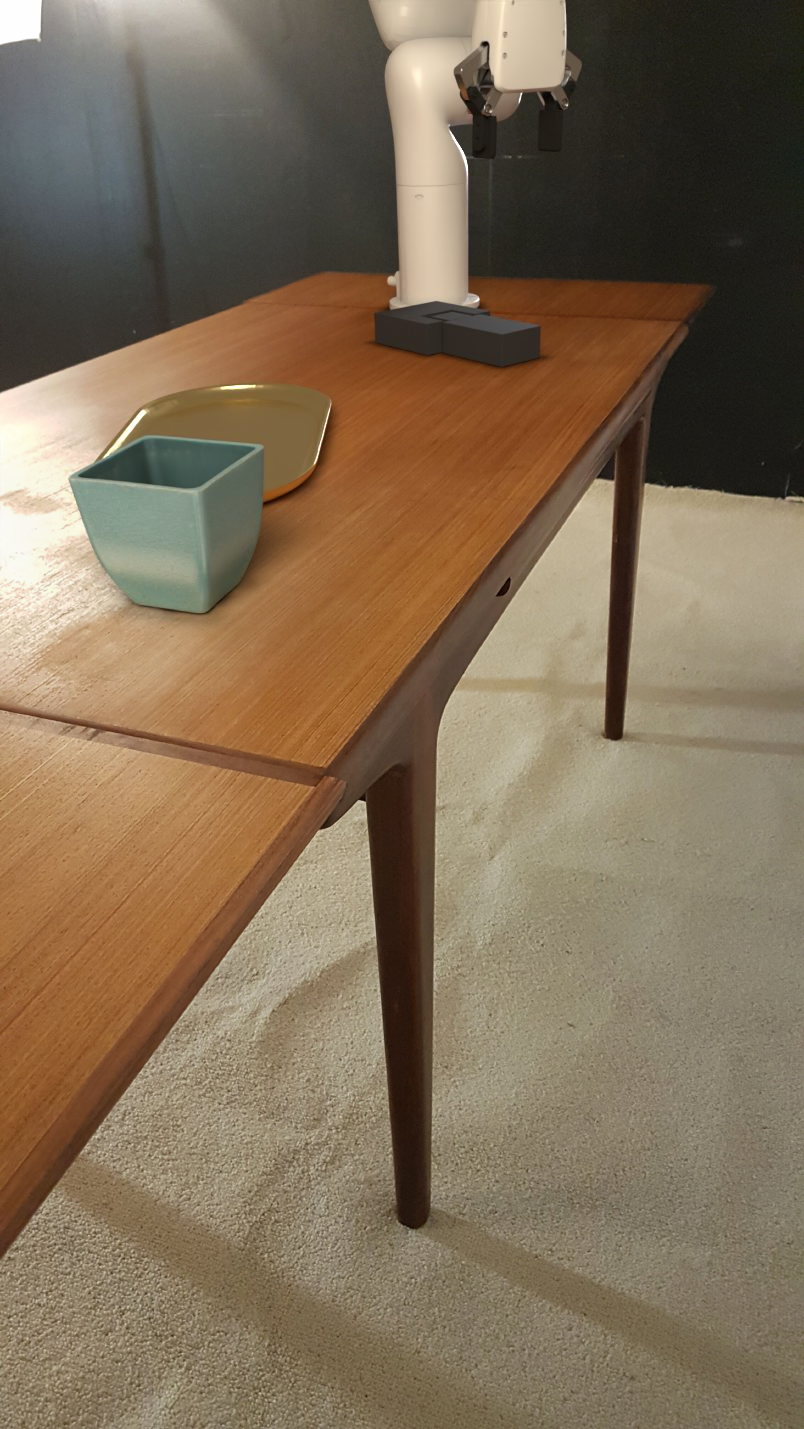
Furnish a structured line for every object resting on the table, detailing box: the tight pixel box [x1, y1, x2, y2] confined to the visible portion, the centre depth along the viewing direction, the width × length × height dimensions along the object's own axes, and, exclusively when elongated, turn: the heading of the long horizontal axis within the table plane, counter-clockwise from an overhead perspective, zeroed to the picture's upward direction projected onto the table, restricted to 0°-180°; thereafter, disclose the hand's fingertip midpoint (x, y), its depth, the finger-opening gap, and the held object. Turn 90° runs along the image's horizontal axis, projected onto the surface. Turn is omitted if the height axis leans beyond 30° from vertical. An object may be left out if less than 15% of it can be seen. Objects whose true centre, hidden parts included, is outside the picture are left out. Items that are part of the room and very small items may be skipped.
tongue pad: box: [430, 312, 542, 368], centre depth 119 cm, size 14×6×4 cm, turn 39°
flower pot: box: [67, 435, 264, 614], centre depth 64 cm, size 9×9×9 cm
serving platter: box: [94, 382, 332, 504], centre depth 91 cm, size 19×35×2 cm, turn 179°
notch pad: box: [373, 301, 491, 356], centre depth 125 cm, size 10×10×4 cm
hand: (517, 154), depth 112 cm, fingers open, 9 cm apart
